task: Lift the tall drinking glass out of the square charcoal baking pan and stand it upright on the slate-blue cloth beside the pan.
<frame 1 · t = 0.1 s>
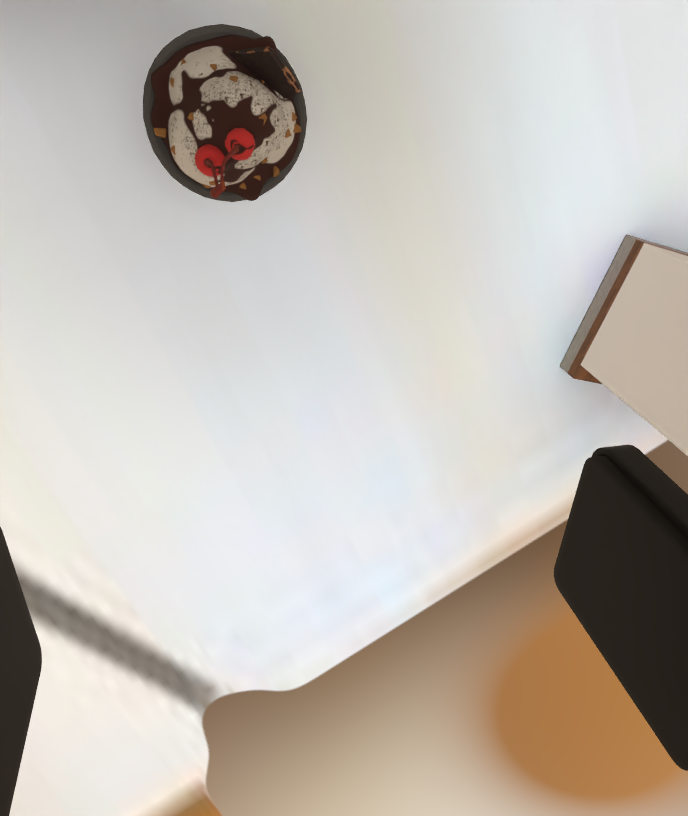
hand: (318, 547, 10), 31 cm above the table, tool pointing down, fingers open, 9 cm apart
sundae: (216, 97, 34), on the table
display case: (648, 317, 48), on the table
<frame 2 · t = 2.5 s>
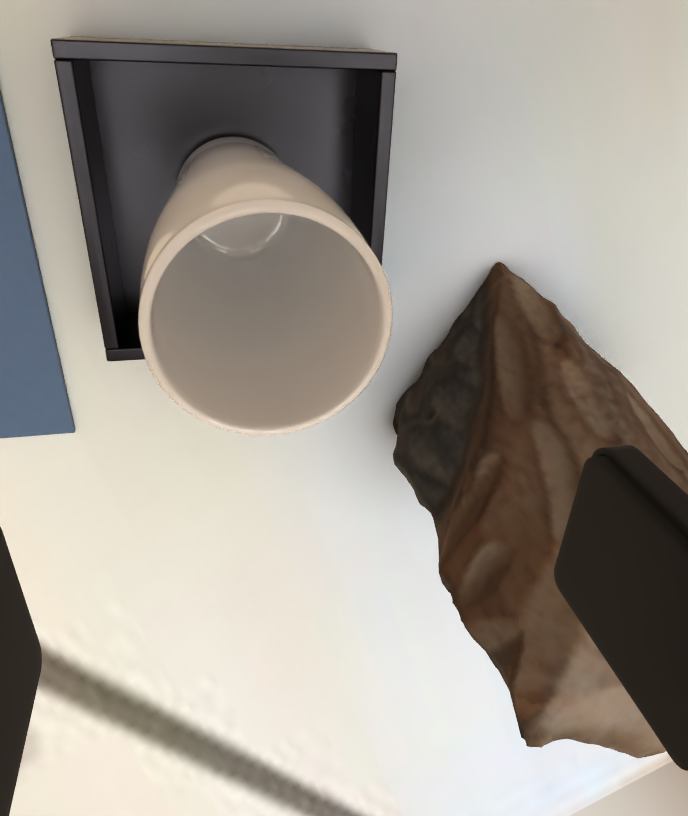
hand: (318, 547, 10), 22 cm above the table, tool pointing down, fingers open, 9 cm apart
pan: (235, 196, 29), on the table
drinking glass: (234, 195, 29), resting in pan
owl: (498, 367, 37), on the table
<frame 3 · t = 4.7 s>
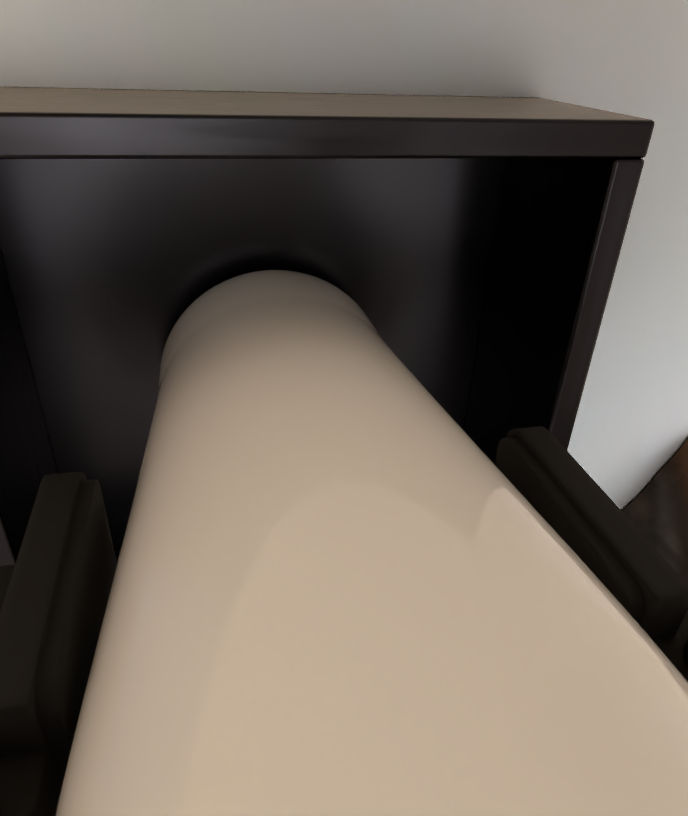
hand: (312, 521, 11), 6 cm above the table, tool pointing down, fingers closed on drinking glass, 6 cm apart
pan: (271, 364, 16), on the table
drinking glass: (270, 361, 16), resting in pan, touching gripper
owl: (666, 567, 24), on the table
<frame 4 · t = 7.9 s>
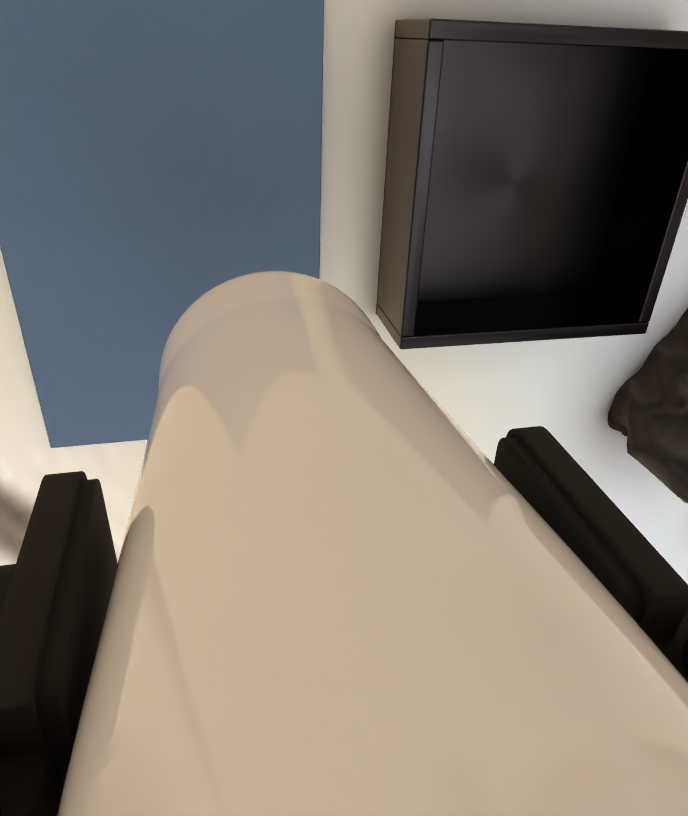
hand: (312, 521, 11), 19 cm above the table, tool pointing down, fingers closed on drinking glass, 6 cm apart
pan: (513, 183, 28), on the table
drinking glass: (270, 362, 16), point 13 cm above the table, touching gripper
cloth: (167, 235, 26), on the table
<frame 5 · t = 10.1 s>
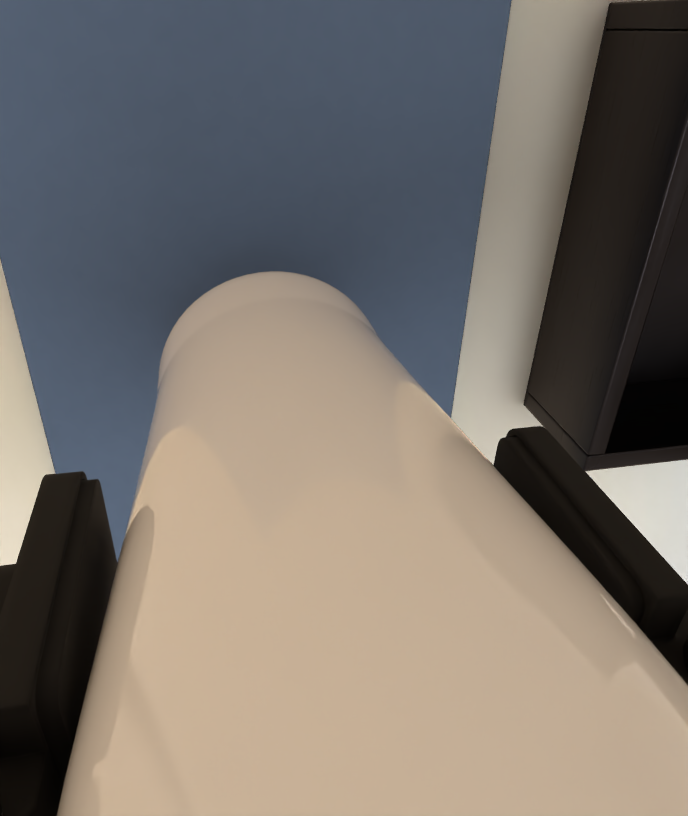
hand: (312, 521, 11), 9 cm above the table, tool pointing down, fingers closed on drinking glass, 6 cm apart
drinking glass: (269, 362, 16), point 3 cm above the table, touching gripper
cloth: (258, 313, 18), on the table
when the fingers open (6 cm above the table, at t = 11.5 s): drinking glass stays where it is, resting on cloth.
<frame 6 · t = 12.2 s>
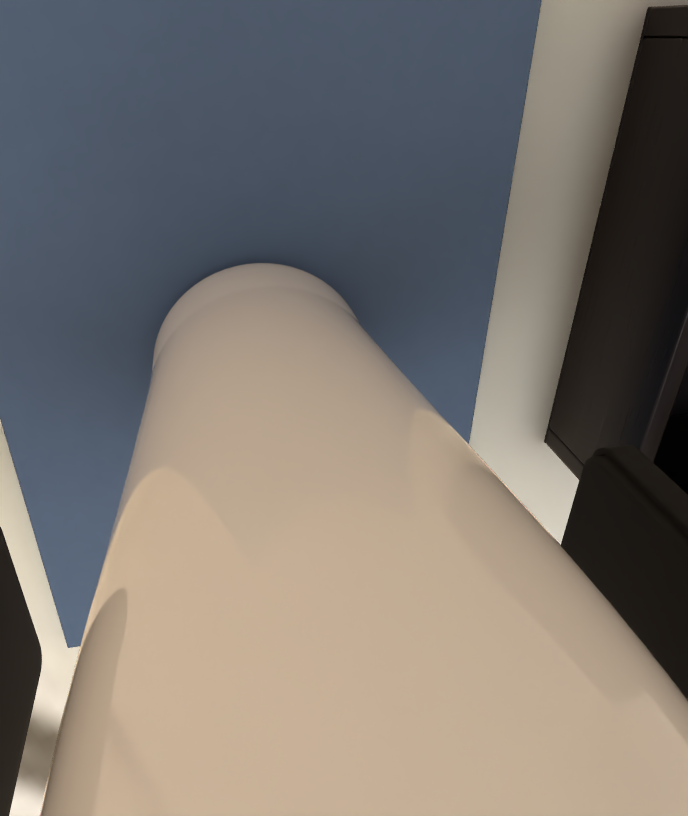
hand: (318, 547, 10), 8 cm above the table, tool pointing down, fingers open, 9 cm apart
drinking glass: (258, 351, 16), resting on cloth
cloth: (256, 350, 17), on the table
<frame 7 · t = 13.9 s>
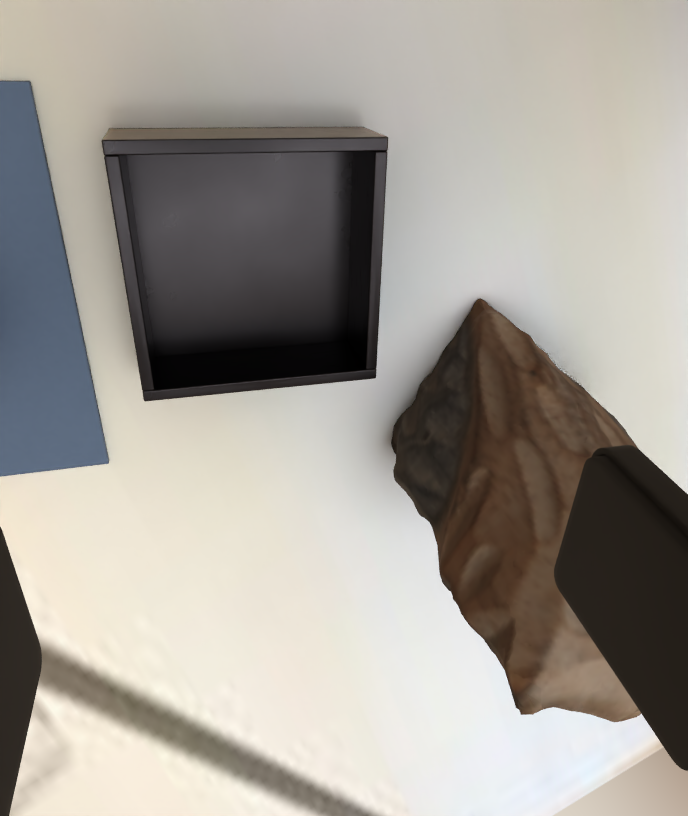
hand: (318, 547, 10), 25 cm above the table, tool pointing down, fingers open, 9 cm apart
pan: (249, 253, 33), on the table
owl: (483, 389, 41), on the table
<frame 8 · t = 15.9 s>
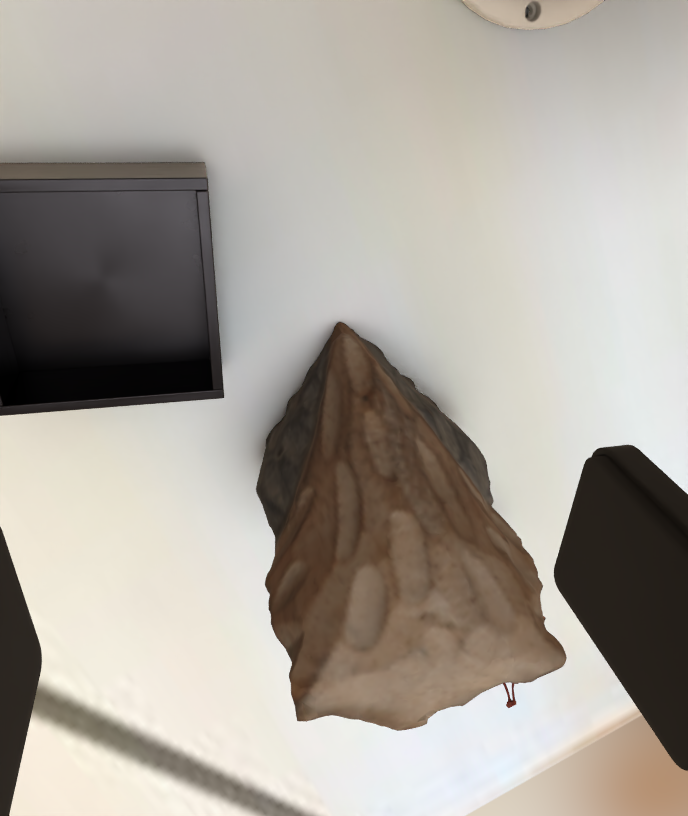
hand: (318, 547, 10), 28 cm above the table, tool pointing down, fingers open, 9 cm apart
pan: (102, 278, 35), on the table
owl: (354, 406, 43), on the table
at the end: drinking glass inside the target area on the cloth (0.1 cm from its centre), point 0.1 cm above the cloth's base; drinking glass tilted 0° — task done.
